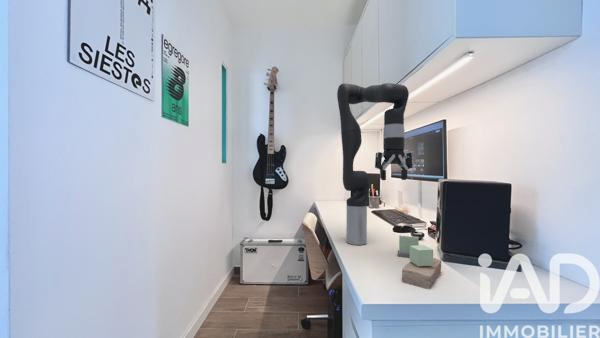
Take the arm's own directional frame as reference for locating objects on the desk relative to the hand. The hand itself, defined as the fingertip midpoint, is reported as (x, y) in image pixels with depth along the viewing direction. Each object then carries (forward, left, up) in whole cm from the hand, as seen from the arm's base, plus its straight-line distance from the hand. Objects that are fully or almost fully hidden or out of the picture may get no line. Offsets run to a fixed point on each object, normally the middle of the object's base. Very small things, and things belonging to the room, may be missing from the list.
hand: (393, 180), depth 101 cm
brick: (+16, 0, -31) cm, 35 cm away
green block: (+16, 0, -26) cm, 30 cm away
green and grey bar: (-2, +8, -30) cm, 31 cm away
